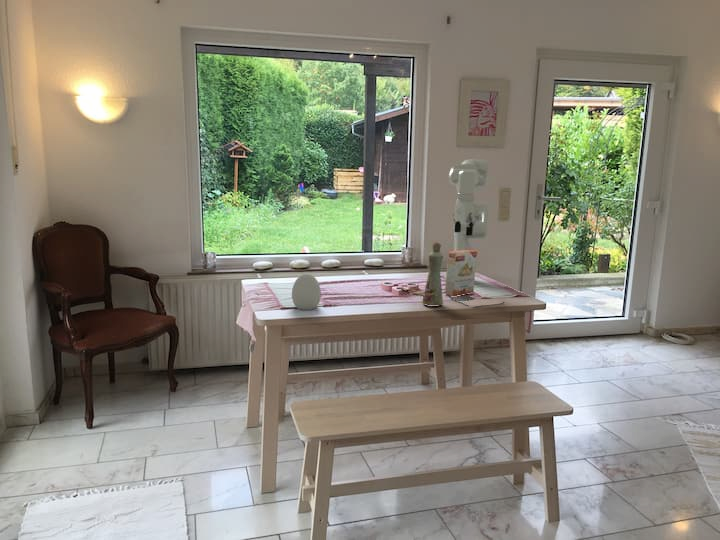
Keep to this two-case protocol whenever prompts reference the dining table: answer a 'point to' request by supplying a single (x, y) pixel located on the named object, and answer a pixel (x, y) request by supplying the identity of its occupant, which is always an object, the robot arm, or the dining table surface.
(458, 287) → the cracker box
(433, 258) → the bottle
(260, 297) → the dining table surface
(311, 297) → the decorative egg
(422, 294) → the turner
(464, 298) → the mat
